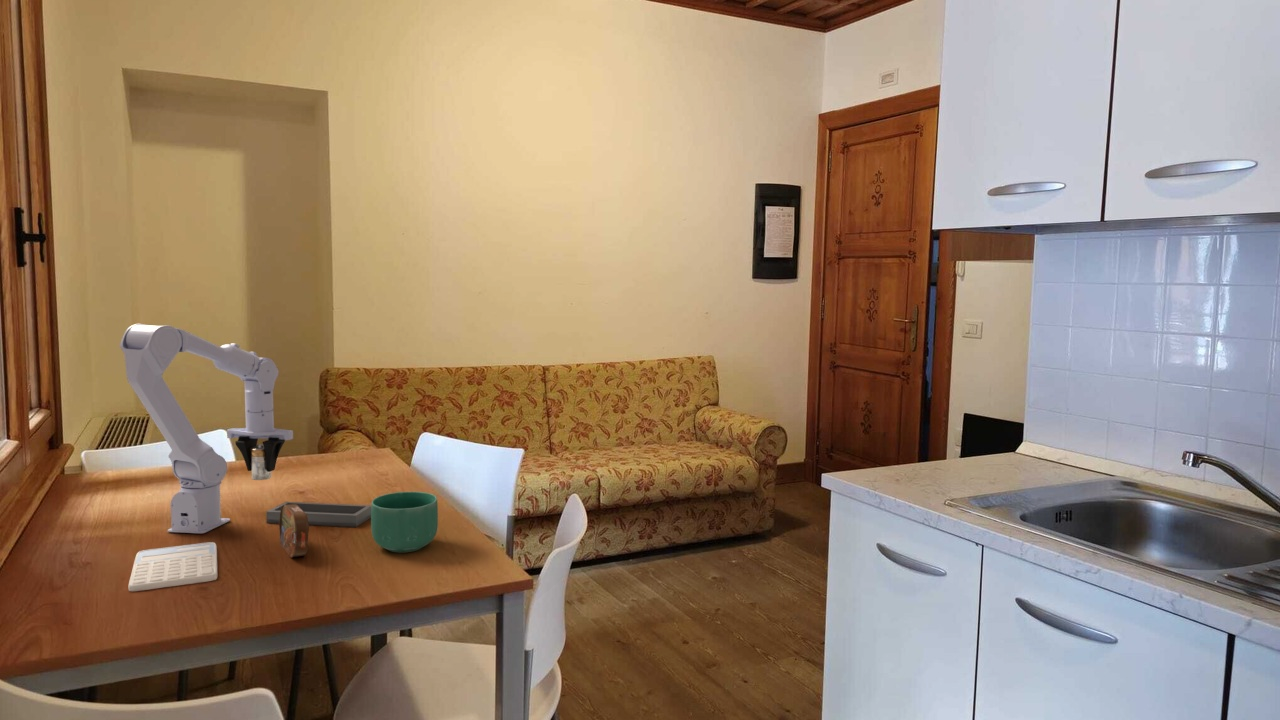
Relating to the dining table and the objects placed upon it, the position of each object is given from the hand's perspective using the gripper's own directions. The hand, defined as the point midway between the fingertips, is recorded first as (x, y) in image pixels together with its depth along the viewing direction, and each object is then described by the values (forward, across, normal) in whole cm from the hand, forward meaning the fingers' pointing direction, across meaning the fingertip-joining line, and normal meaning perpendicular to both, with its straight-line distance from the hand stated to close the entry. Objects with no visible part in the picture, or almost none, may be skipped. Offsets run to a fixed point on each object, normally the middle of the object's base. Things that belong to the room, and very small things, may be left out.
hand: (261, 470), depth 187 cm
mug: (+9, -41, +19) cm, 46 cm away
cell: (+2, 0, 0) cm, 2 cm away
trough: (+9, -17, +6) cm, 20 cm away
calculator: (+10, -6, +38) cm, 40 cm away
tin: (+9, -22, +26) cm, 35 cm away
